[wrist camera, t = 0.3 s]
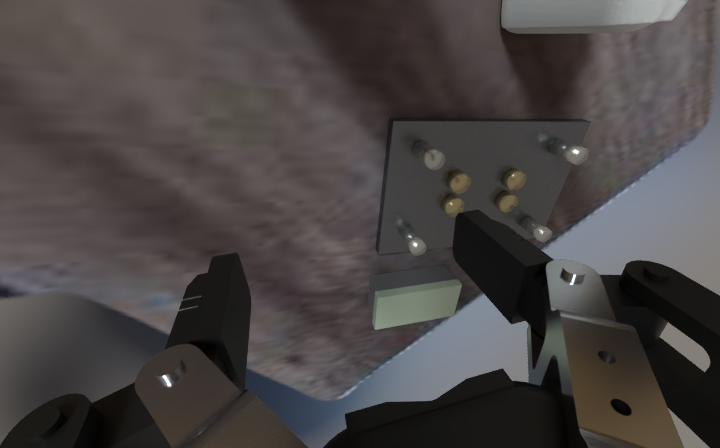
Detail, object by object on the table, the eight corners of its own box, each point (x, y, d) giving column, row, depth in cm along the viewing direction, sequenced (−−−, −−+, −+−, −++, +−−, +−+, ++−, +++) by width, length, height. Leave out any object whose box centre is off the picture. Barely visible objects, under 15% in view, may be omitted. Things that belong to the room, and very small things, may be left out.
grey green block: (367, 273, 36) (377, 298, 33) (445, 262, 38) (462, 284, 35) (365, 304, 39) (374, 329, 36) (438, 292, 41) (453, 315, 38)
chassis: (389, 118, 27) (406, 130, 24) (582, 119, 32) (618, 129, 29) (375, 249, 34) (387, 272, 31) (534, 233, 39) (559, 252, 36)
